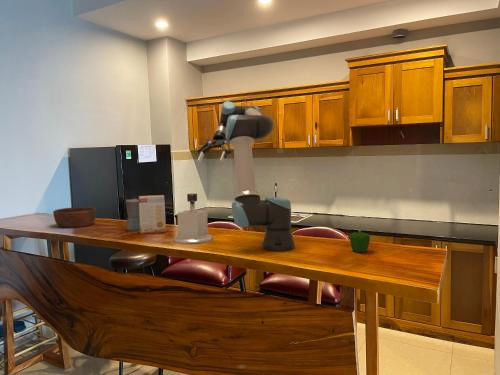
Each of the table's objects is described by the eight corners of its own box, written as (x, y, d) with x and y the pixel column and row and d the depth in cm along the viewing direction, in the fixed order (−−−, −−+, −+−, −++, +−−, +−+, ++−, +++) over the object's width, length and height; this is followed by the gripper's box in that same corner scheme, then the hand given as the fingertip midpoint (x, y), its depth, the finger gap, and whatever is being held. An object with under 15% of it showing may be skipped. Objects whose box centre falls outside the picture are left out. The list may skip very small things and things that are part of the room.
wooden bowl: (75, 221, 251) (74, 206, 251) (105, 222, 244) (104, 207, 243) (44, 228, 228) (43, 211, 227) (76, 229, 220) (76, 212, 219)
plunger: (204, 235, 191) (203, 193, 189) (196, 238, 183) (195, 194, 182) (190, 234, 194) (188, 193, 192) (181, 237, 186) (180, 194, 184)
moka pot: (141, 231, 212) (140, 197, 210) (117, 230, 215) (115, 196, 213) (149, 228, 221) (147, 195, 219) (125, 227, 224) (124, 195, 222)
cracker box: (165, 230, 213) (164, 194, 212) (165, 232, 208) (164, 195, 206) (140, 232, 210) (139, 195, 208) (140, 234, 204) (138, 196, 202)
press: (219, 236, 195) (218, 209, 194) (201, 245, 176) (200, 215, 175) (185, 234, 202) (185, 208, 200) (165, 242, 183) (164, 213, 182)
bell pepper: (354, 248, 167) (354, 226, 166) (372, 250, 161) (372, 228, 161) (346, 251, 160) (346, 229, 159) (364, 254, 155) (364, 231, 154)
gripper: (242, 139, 212) (233, 166, 200) (204, 140, 221) (192, 166, 208) (239, 129, 207) (229, 156, 194) (199, 131, 216) (187, 157, 203)
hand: (210, 161), depth 201 cm, fingers open, 13 cm apart
